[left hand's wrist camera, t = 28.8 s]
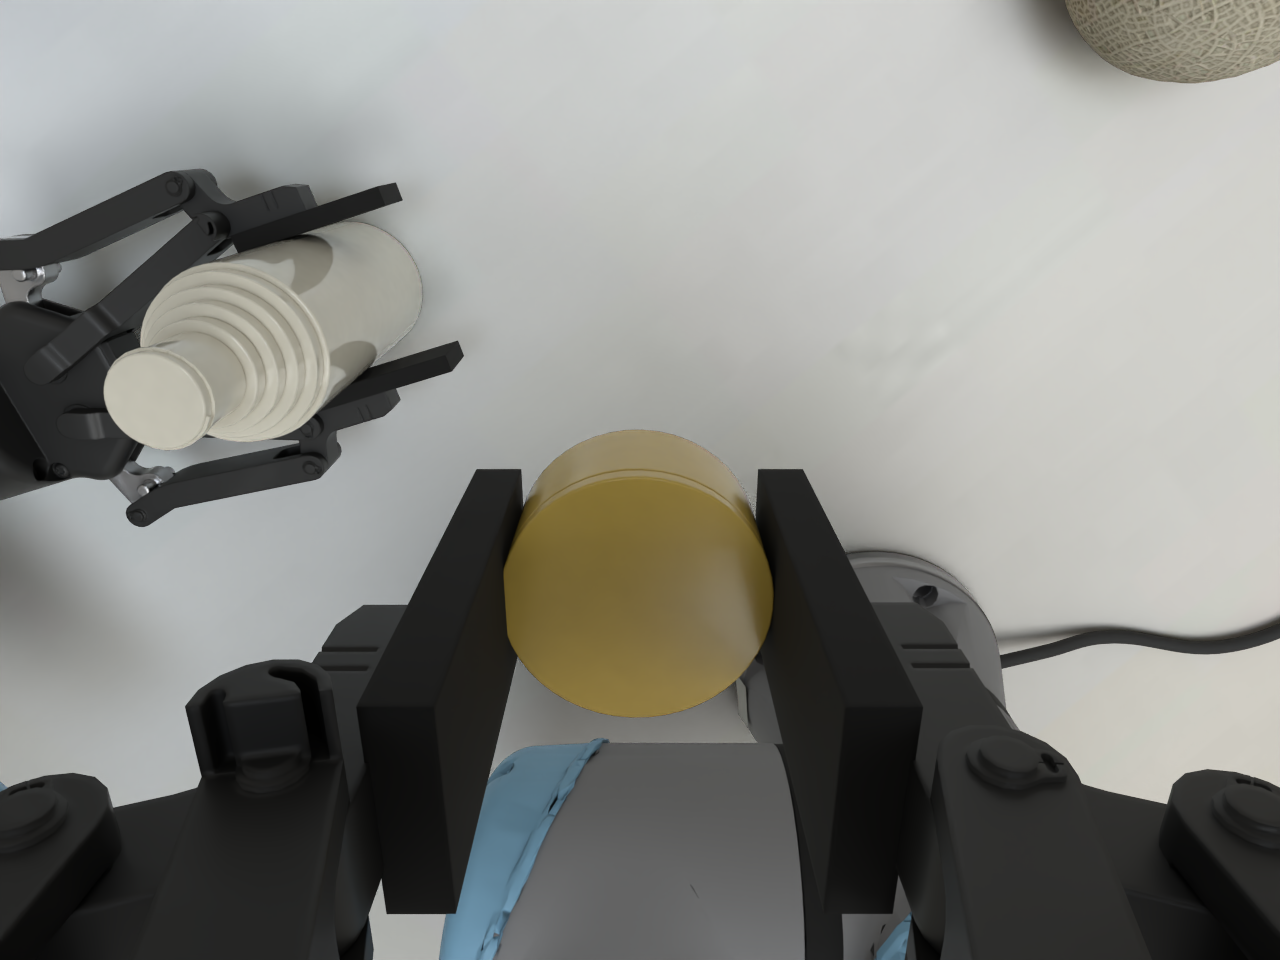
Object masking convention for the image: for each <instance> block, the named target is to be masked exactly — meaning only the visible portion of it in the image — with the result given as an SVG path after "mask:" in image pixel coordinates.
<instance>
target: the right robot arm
mask: <svg viewBox="0 0 1280 960" xmlns="http://www.w3.org/2000/svg"><path fill="white" fill-rule="evenodd" d="M399 201H402V197H401V195H400V192H399V189H398V187H397V184H396V183H392V184H387V185H382V186H377V187H374V188H371V189H368V190H365V191H362V192H359V193H356V194H353V195H350V196H347V197H344V198H341V199H338V200H336V201H333V202H330V203H327V204H324V205H321V206H317V204H316V201H315V199H314V197H313V194H312V192H311V190H310V188H309V185H300V184H293V185H286V186H281V187H278V188H275V189H272V190H270V191H267V192H264V193H261V194H258V195H255V196H252V197H249V198H246V199H243V200H240V201H237V202H236V201H233V200H231V199H229V198H228V197H226V196H225V195H224V194H223V193H222V192H221V190H220V189H219V188H218V187H217V182H216V179H215V177H214V176H213V175H212V174H211V173H210V172H208V171H207V170H204V169H192V170H180V171H170V172H166V173H163V174H161V175H159V176H157V177H155V178H153V179H151V180H149V181H146V182H144V183H142V184H140V185H138V186H136V187H134V188H132V189H130V190H127V191H125V192H123V193H121V194H119V195H117V196H115V197H113V198H110V199H108V200H106V201H104V202H102V203H100V204H98V205H96V206H94V207H91V208H89V209H87V210H85V211H83V212H81V213H79V214H77V215H74V216H72V217H70V218H68V219H66V220H64V221H62V222H60V223H57V224H55V225H53V226H51V227H49V228H47V229H45V230H43V231H41V232H38V233H36V234H23V235H16V236H10V237H4V238H0V286H1V289H2V292H3V295H4V299H5V302H6V304H4V305H3V306H1V307H0V500H3V499H6V498H10V497H13V496H16V495H20V494H23V493H26V492H29V491H33V490H36V489H39V488H43V487H46V486H49V485H52V484H56V483H59V482H62V481H66V480H69V479H72V478H78V477H85V478H92V479H97V480H107V479H109V480H110V481H111V482H112V483H113V484H114V485H115V486H116V487H117V488H118V489H119V490H120V491H121V492H122V494H123V495H124V496H125V497H126V498H127V499H128V500H129V501H130V502H131V503H132V504H131V505H130V506H129V507H128V508H127V510H126V515H127V518H128V520H129V521H130V522H131V523H132V524H134V525H136V526H138V527H145V526H148V525H150V524H151V523H153V522H154V521H156V520H157V519H159V518H160V517H162V516H163V515H165V514H167V513H168V512H170V511H171V510H173V509H174V508H178V507H183V506H188V505H193V504H198V503H203V502H208V501H213V500H218V499H223V498H227V497H232V496H237V495H242V494H247V493H252V492H257V491H262V490H267V489H272V488H277V487H282V486H287V485H292V484H297V483H302V482H307V481H312V480H316V479H319V478H320V477H321V476H322V475H323V474H324V473H325V472H326V471H327V470H328V469H329V468H330V467H331V466H332V465H333V463H334V462H335V461H336V460H337V459H338V458H339V457H340V455H341V452H342V451H341V446H340V445H339V443H338V442H337V436H336V433H337V430H340V429H343V428H346V427H350V426H353V425H356V424H360V423H363V422H366V421H370V420H372V419H376V418H380V417H383V416H385V415H386V414H387V413H388V412H389V411H391V410H392V409H393V408H394V407H395V406H396V404H397V403H398V402H399V401H400V397H399V395H398V393H397V390H396V388H399V387H402V386H405V385H409V384H412V383H415V382H419V381H422V380H425V379H428V378H432V377H435V376H438V375H442V374H445V373H448V372H451V371H453V369H454V368H455V367H456V365H457V364H458V363H459V362H460V360H461V359H462V358H463V357H464V355H463V352H462V350H461V347H460V345H459V342H458V341H455V342H452V343H449V344H445V345H442V346H439V347H436V348H432V349H429V350H426V351H423V352H419V353H416V354H413V355H410V356H406V357H403V358H400V359H397V360H394V361H390V362H387V363H384V364H381V365H377V366H374V367H371V368H368V369H367V370H366V371H364V372H363V373H362V374H361V375H360V376H359V377H358V378H356V379H355V380H354V381H353V382H352V383H351V384H350V385H348V386H347V387H346V388H345V389H344V390H343V391H342V392H340V393H339V394H338V395H337V396H336V397H335V398H334V399H332V400H331V401H330V402H329V403H328V404H327V405H326V406H324V407H323V408H322V409H321V410H320V411H319V412H318V413H316V414H315V415H314V416H313V417H312V418H311V419H310V420H308V421H307V422H306V423H305V424H304V425H302V426H301V427H300V428H298V429H296V430H294V431H293V432H291V433H288V434H286V435H284V436H281V437H277V438H273V440H299V443H297V444H292V445H287V446H282V447H278V448H273V449H268V450H263V451H258V452H253V453H248V454H243V455H238V456H234V457H229V458H224V459H219V460H214V461H209V462H204V463H199V464H196V465H192V466H189V467H187V468H184V469H182V470H180V471H178V472H177V473H175V471H174V469H173V468H171V467H162V466H156V467H152V468H144V467H141V466H139V465H138V464H137V463H136V462H135V461H136V459H137V458H138V456H139V454H140V452H141V450H142V449H143V447H144V444H142V443H139V442H138V441H136V440H134V439H132V438H131V437H129V436H128V435H127V434H125V433H124V432H123V431H122V430H121V429H120V428H119V427H118V426H117V424H116V423H115V422H114V420H113V419H112V417H111V416H110V414H109V412H108V410H107V407H106V404H105V400H104V383H105V379H106V376H107V373H108V371H109V369H110V368H111V366H112V365H113V363H114V361H115V360H117V359H118V358H119V357H120V356H122V355H123V354H124V353H126V352H128V351H131V350H134V349H137V348H140V347H141V346H140V344H139V342H138V340H137V338H136V336H135V334H134V332H135V331H136V330H137V329H138V328H139V327H141V326H142V324H143V320H144V317H145V315H146V312H147V310H148V308H149V306H150V304H151V302H152V301H153V300H154V299H155V297H156V296H157V295H158V293H159V292H160V291H161V289H162V288H163V287H164V286H165V285H166V284H167V283H168V282H169V281H170V280H171V279H172V278H174V277H175V276H177V275H178V274H180V273H181V272H183V271H185V270H187V269H190V268H192V267H195V266H198V265H201V264H204V263H208V262H211V261H214V260H215V259H217V258H218V257H219V256H220V255H221V254H222V253H224V252H225V251H226V250H227V249H228V248H229V247H231V246H232V245H233V244H234V245H235V248H236V250H237V252H238V253H241V252H244V251H247V250H250V249H254V248H257V247H260V246H264V245H267V244H270V243H274V242H277V241H280V240H284V239H287V238H290V237H293V236H297V235H300V234H303V233H306V232H309V231H312V230H315V229H318V228H321V227H324V226H327V225H330V224H333V223H336V222H339V221H342V220H345V219H348V218H351V217H354V216H357V215H360V214H363V213H366V212H369V211H372V210H375V209H378V208H381V207H384V206H387V205H390V204H393V203H396V202H399ZM183 210H184V211H185V212H186V213H187V214H188V215H189V216H190V218H191V219H192V221H191V222H190V223H189V224H188V225H187V226H185V227H184V228H183V229H182V230H181V231H180V232H179V233H177V234H176V235H175V236H174V237H173V238H172V239H171V240H170V241H168V242H167V243H166V244H165V245H164V246H163V247H162V248H160V249H159V250H158V251H157V252H156V253H155V254H154V255H152V256H151V257H150V258H149V259H148V260H147V261H146V262H145V263H143V264H142V265H141V266H140V267H139V268H138V269H137V270H135V271H134V272H133V273H132V274H131V275H130V276H129V277H127V278H126V279H125V280H124V281H123V282H122V283H121V284H120V285H118V286H117V287H116V288H115V289H114V290H113V291H112V292H110V293H109V294H108V295H107V296H106V297H105V298H104V299H103V300H101V301H100V302H99V303H98V304H96V305H95V306H93V307H91V308H89V309H88V310H86V311H85V312H84V311H81V310H78V309H75V308H71V307H68V306H65V305H62V304H59V303H56V302H52V301H49V300H46V299H43V298H42V294H41V293H42V289H43V287H44V286H45V285H46V284H48V283H51V282H54V281H55V280H56V279H57V277H58V273H59V272H61V269H62V268H61V265H60V262H65V261H69V260H73V259H77V258H80V257H83V256H86V255H88V254H90V253H92V252H94V251H97V250H99V249H101V248H103V247H105V246H107V245H110V244H112V243H114V242H116V241H118V240H120V239H123V238H125V237H127V236H129V235H131V234H133V233H135V232H138V231H140V230H142V229H144V228H146V227H148V226H151V225H153V224H155V223H157V222H159V221H161V220H164V219H166V218H168V217H170V216H172V215H174V214H177V213H179V212H181V211H183ZM203 437H206V438H216V437H213V436H211V435H208V434H206V435H204V436H203ZM5 789H7V787H6V786H5V785H4V784H3V783H1V782H0V792H1V791H3V790H5Z"/></svg>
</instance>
